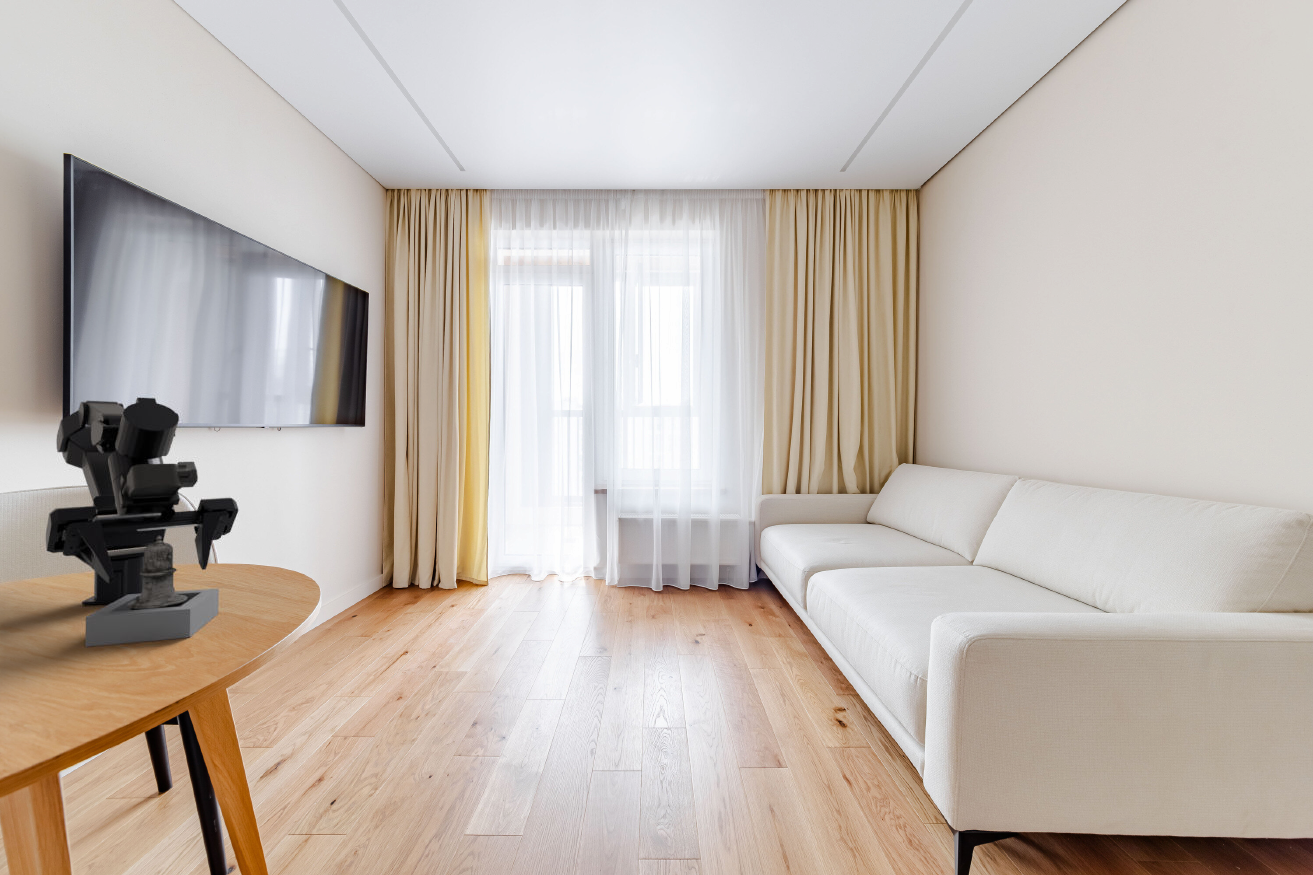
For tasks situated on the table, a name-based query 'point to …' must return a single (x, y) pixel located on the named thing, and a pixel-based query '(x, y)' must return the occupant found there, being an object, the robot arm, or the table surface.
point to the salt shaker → (158, 579)
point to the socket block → (151, 619)
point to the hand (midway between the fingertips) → (160, 573)
